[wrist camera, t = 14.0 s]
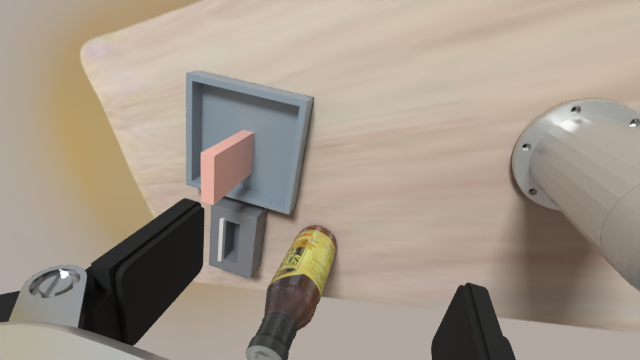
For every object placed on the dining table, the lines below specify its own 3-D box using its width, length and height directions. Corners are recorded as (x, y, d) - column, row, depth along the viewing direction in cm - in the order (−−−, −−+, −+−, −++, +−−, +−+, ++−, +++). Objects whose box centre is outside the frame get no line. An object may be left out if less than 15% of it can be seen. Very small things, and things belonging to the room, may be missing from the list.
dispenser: (267, 206, 48) (256, 219, 44) (260, 264, 52) (249, 280, 49) (223, 193, 49) (209, 205, 45) (220, 251, 53) (207, 266, 50)
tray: (313, 97, 40) (307, 101, 37) (295, 204, 46) (288, 214, 44) (200, 70, 42) (186, 72, 39) (198, 176, 49) (186, 184, 46)
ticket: (254, 132, 43) (214, 156, 34) (251, 173, 45) (213, 205, 36) (243, 129, 43) (200, 152, 34) (241, 170, 45) (200, 201, 36)
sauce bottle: (311, 215, 46) (254, 321, 29) (346, 240, 47) (310, 361, 29) (289, 243, 49) (224, 356, 32) (322, 266, 50) (276, 391, 32)
